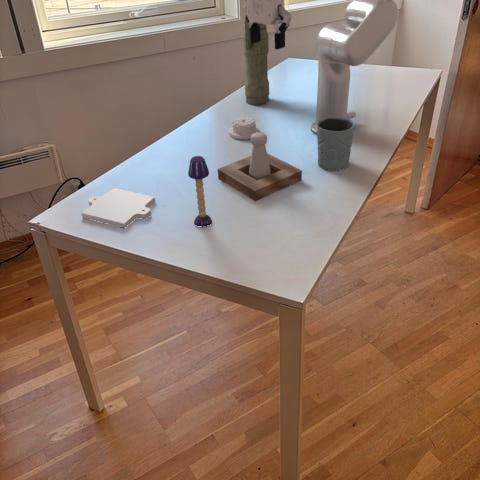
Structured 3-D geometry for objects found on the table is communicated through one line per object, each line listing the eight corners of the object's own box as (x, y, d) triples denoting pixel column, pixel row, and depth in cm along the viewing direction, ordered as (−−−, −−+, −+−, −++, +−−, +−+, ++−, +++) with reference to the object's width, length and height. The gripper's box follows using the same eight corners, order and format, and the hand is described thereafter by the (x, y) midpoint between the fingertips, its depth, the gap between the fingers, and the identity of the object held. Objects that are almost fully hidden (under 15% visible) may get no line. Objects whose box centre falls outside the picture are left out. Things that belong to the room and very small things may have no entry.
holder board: (263, 160, 139) (262, 151, 137) (301, 180, 128) (301, 170, 126) (218, 178, 131) (217, 169, 129) (255, 201, 121) (255, 191, 119)
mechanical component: (226, 139, 152) (257, 141, 150) (225, 126, 150) (256, 127, 148) (232, 127, 160) (261, 128, 158) (231, 114, 158) (261, 115, 156)
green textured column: (274, 96, 181) (273, -6, 161) (263, 107, 173) (261, 0, 152) (252, 94, 184) (248, -7, 164) (240, 105, 176) (235, 0, 155)
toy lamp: (194, 217, 116) (186, 154, 106) (213, 215, 116) (207, 152, 106) (194, 228, 112) (186, 164, 102) (214, 226, 112) (208, 162, 103)
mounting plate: (164, 205, 122) (162, 198, 121) (134, 232, 113) (132, 225, 112) (107, 192, 129) (106, 186, 128) (75, 217, 119) (73, 210, 118)
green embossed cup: (328, 175, 130) (331, 134, 122) (307, 161, 137) (309, 121, 130) (358, 166, 133) (362, 125, 126) (336, 153, 140) (339, 113, 133)
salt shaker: (273, 175, 131) (272, 130, 124) (267, 185, 127) (266, 139, 119) (252, 173, 133) (251, 128, 125) (246, 183, 128) (244, 137, 121)
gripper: (231, -27, 122) (236, 43, 132) (278, -22, 111) (279, 54, 121) (253, -32, 126) (256, 37, 136) (301, -27, 115) (300, 47, 125)
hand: (267, 45), depth 129 cm, fingers open, 9 cm apart
